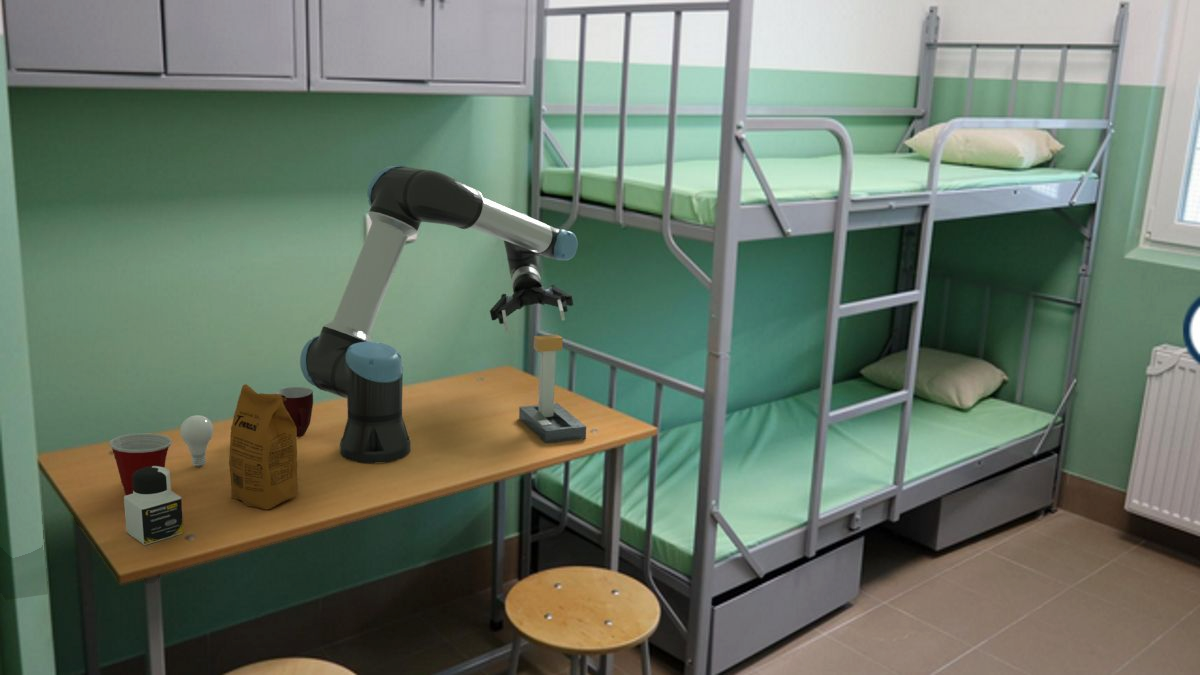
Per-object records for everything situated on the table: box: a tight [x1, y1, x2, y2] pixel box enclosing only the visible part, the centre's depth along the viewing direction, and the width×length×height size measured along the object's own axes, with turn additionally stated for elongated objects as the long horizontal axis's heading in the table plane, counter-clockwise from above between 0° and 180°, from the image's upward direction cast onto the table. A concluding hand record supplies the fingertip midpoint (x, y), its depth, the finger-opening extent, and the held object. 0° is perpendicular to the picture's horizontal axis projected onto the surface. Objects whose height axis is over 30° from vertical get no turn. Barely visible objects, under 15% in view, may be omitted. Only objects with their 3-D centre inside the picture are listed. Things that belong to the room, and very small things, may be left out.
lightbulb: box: [179, 414, 214, 468], centre depth 209 cm, size 6×6×11 cm
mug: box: [275, 386, 314, 438], centre depth 229 cm, size 11×8×10 cm
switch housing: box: [518, 402, 587, 444], centre depth 242 cm, size 18×10×3 cm, turn 24°
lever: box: [533, 334, 563, 417], centre depth 243 cm, size 3×6×20 cm, turn 114°
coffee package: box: [228, 383, 299, 510], centre depth 194 cm, size 10×12×22 cm
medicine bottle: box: [123, 466, 184, 546], centre depth 179 cm, size 7×7×12 cm
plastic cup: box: [108, 432, 173, 496], centre depth 193 cm, size 11×11×12 cm
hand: (534, 321), depth 241 cm, fingers open, 13 cm apart
